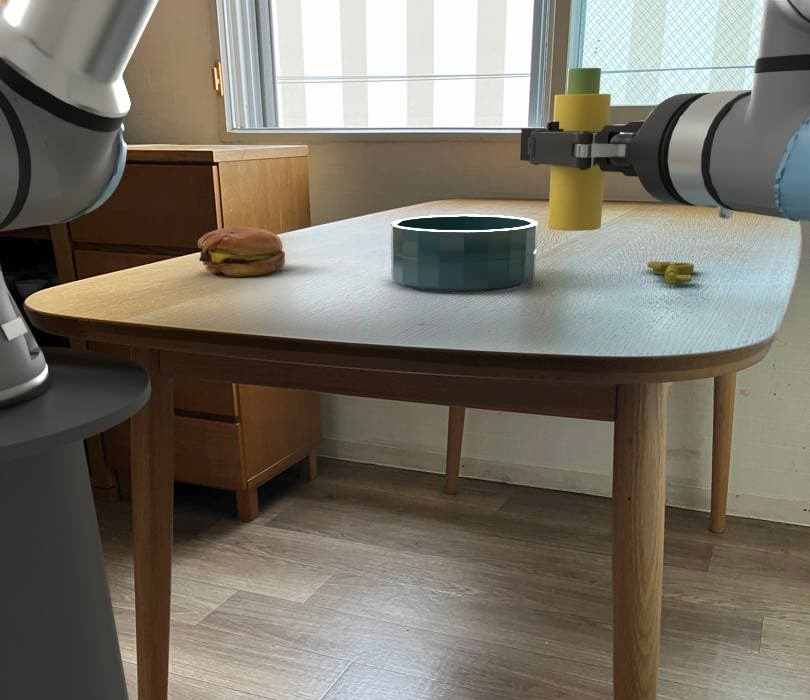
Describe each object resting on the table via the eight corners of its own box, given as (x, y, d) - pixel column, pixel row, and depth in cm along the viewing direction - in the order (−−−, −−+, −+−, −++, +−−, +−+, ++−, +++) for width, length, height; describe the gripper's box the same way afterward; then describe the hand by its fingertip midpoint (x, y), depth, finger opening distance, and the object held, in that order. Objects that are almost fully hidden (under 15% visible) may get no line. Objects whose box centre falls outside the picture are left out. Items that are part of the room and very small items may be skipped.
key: (694, 274, 90) (643, 272, 91) (692, 287, 90) (642, 285, 91) (694, 259, 100) (648, 258, 101) (693, 271, 100) (647, 269, 102)
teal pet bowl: (365, 287, 93) (363, 226, 90) (433, 266, 105) (434, 213, 102) (497, 299, 86) (500, 234, 83) (555, 276, 98) (558, 218, 95)
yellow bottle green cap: (540, 229, 81) (547, 68, 75) (559, 223, 85) (568, 70, 79) (590, 231, 79) (602, 66, 73) (607, 226, 82) (620, 68, 77)
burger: (283, 263, 108) (280, 222, 106) (287, 275, 100) (284, 232, 98) (201, 266, 107) (196, 225, 105) (198, 279, 98) (193, 235, 96)
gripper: (594, 212, 62) (462, 190, 82) (798, 201, 68) (628, 182, 88) (603, 93, 59) (464, 100, 79) (816, 91, 65) (636, 98, 84)
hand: (550, 143), depth 83 cm, fingers closed on yellow bottle green cap, 5 cm apart
